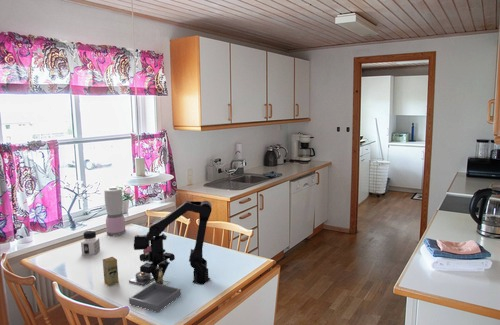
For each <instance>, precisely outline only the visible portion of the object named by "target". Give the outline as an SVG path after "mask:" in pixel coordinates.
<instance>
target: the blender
mask: <svg viewBox="0 0 500 325" xmlns="http://www.w3.org/2000/svg"><path fill="white" fill-rule="evenodd" d="M122 189H123V188H120V187H117V186H109V187H108V188H106V189H104V194H103V195H104V206H105V210H106V212H107V216H106V218H105V227H106V228H105V229H106V235H107V236H108V237H110V236H111V235H112V236H113V235H114V236H115V237H119V236H120V235H121V234H123V233H125V232H126V220H125V219H126V218H125V216H124V214H123V206H124V200H123V191H122Z"/></svg>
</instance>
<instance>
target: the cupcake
mask: <svg viewBox="0 0 500 325" xmlns="http://www.w3.org/2000/svg"><path fill="white" fill-rule="evenodd" d="M149 251H151V245H150V246H149V247H147V249H143V250H142V252H143V253H142V254H146V253H148V252H149Z"/></svg>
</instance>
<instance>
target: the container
mask: <svg viewBox="0 0 500 325" xmlns="http://www.w3.org/2000/svg"><path fill="white" fill-rule="evenodd" d="M100 244H101V243H100V237H97V234H96V231H95V230H92V229H90V230H86V231H84V232H83V240H82V241H81V242H80V246H81V248H80V249H81V256H84V255H86V256H88V255H89V256H90V255H91V256H92V255H94V256H95V255H96V254H98V252H100V251H101V245H100Z"/></svg>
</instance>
